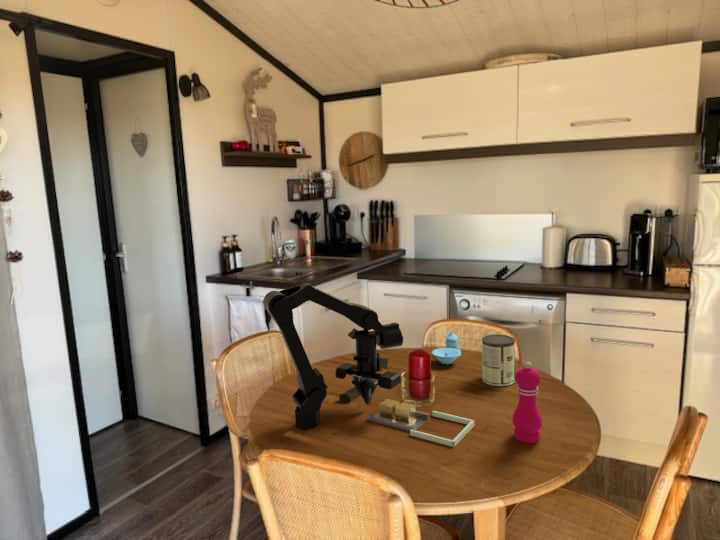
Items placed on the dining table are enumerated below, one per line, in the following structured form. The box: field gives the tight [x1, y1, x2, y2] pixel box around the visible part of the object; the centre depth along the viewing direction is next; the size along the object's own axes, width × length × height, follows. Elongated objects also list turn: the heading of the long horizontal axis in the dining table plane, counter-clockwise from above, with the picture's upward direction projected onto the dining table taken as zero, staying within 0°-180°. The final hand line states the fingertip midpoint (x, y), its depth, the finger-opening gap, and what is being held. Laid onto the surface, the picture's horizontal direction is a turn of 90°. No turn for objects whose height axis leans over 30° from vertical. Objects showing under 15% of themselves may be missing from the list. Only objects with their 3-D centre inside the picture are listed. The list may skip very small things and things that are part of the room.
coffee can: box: [481, 334, 516, 387], centre depth 167 cm, size 10×10×14 cm
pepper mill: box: [511, 361, 543, 444], centre depth 129 cm, size 7×7×20 cm
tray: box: [409, 410, 476, 448], centre depth 134 cm, size 13×12×2 cm
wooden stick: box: [338, 386, 361, 404], centre depth 161 cm, size 19×4×5 cm, turn 144°
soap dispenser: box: [431, 331, 462, 366], centre depth 188 cm, size 18×10×9 cm, turn 158°
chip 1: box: [379, 398, 400, 420], centre depth 142 cm, size 4×4×4 cm
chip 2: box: [395, 402, 417, 424], centre depth 140 cm, size 4×4×4 cm
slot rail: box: [367, 409, 431, 433], centre depth 141 cm, size 10×14×2 cm
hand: (368, 404), depth 146 cm, fingers closed
